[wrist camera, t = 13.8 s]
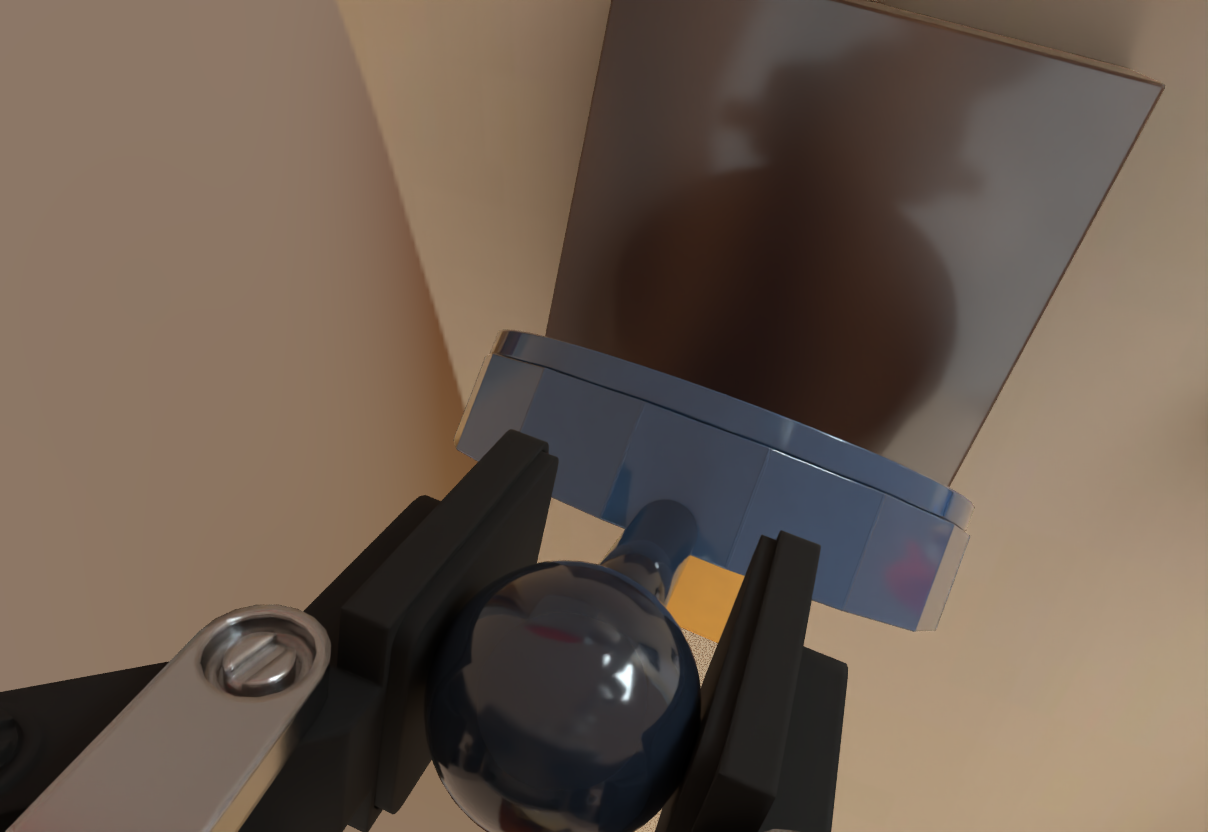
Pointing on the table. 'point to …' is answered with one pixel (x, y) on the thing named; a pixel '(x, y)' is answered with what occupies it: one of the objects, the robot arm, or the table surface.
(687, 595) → the cube
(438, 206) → the table surface
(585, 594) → the blue frying pan
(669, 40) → the stand
